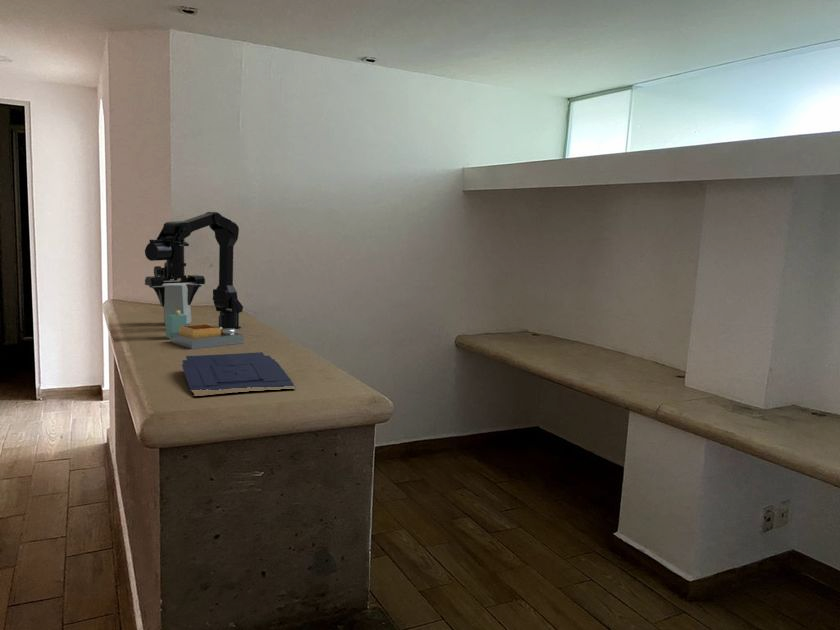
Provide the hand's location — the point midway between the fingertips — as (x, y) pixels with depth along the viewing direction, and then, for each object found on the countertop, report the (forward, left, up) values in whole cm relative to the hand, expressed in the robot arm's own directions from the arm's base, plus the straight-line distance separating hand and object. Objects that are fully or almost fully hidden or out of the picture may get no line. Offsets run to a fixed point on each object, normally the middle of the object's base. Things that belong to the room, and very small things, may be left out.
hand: (176, 305), depth 221 cm
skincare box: (-13, -27, -11) cm, 32 cm away
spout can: (0, 0, -11) cm, 11 cm away
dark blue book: (+15, +65, -11) cm, 68 cm away
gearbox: (-4, +14, -11) cm, 18 cm away
